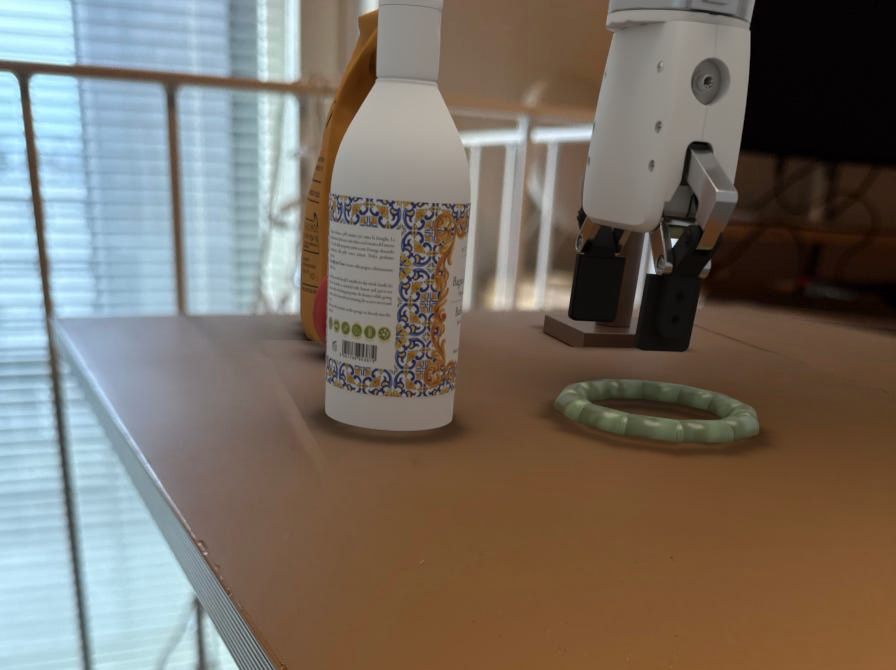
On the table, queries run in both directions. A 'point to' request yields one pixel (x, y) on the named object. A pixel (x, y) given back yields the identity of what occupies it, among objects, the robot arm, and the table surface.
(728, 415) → the ring
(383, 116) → the bath foam
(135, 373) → the table surface
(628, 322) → the post
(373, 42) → the coffee package
